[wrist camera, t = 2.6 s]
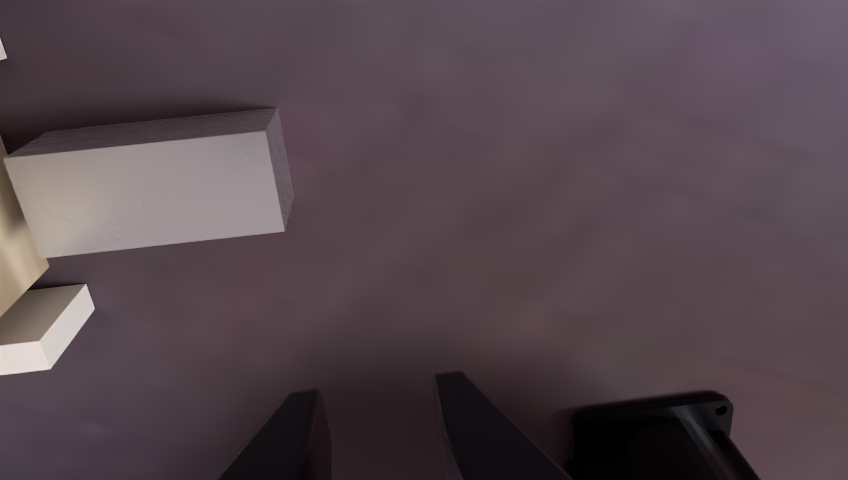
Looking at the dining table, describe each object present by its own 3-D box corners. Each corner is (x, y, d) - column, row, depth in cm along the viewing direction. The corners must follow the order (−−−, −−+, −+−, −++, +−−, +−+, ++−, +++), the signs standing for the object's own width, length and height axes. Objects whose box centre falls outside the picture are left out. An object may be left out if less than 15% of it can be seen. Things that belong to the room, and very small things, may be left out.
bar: (278, 105, 20) (265, 131, 18) (294, 194, 22) (284, 231, 19) (51, 129, 20) (2, 158, 17) (81, 218, 21) (40, 258, 19)
